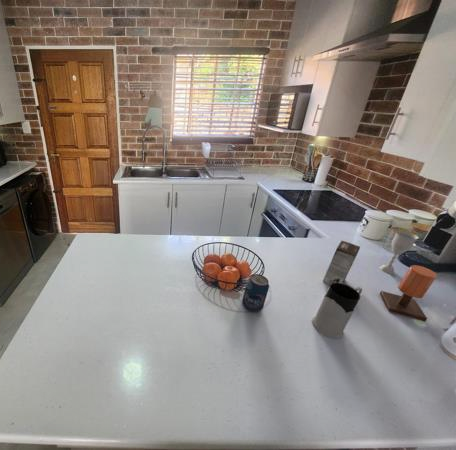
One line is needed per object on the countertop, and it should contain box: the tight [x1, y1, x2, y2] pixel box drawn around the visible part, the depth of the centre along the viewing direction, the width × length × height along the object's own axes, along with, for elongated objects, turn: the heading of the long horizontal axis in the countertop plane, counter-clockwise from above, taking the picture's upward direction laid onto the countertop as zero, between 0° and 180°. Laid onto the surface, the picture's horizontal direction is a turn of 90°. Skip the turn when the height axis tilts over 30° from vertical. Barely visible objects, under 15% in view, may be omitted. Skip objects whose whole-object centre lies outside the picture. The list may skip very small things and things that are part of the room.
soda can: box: [241, 273, 270, 314], centre depth 84 cm, size 7×7×12 cm
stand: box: [379, 290, 428, 322], centre depth 86 cm, size 10×10×16 cm
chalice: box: [379, 229, 419, 275], centre depth 105 cm, size 7×7×18 cm
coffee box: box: [322, 240, 361, 286], centre depth 98 cm, size 9×6×16 cm
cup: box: [397, 264, 438, 299], centre depth 84 cm, size 6×6×9 cm
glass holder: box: [311, 283, 363, 339], centre depth 78 cm, size 9×14×15 cm, turn 113°
